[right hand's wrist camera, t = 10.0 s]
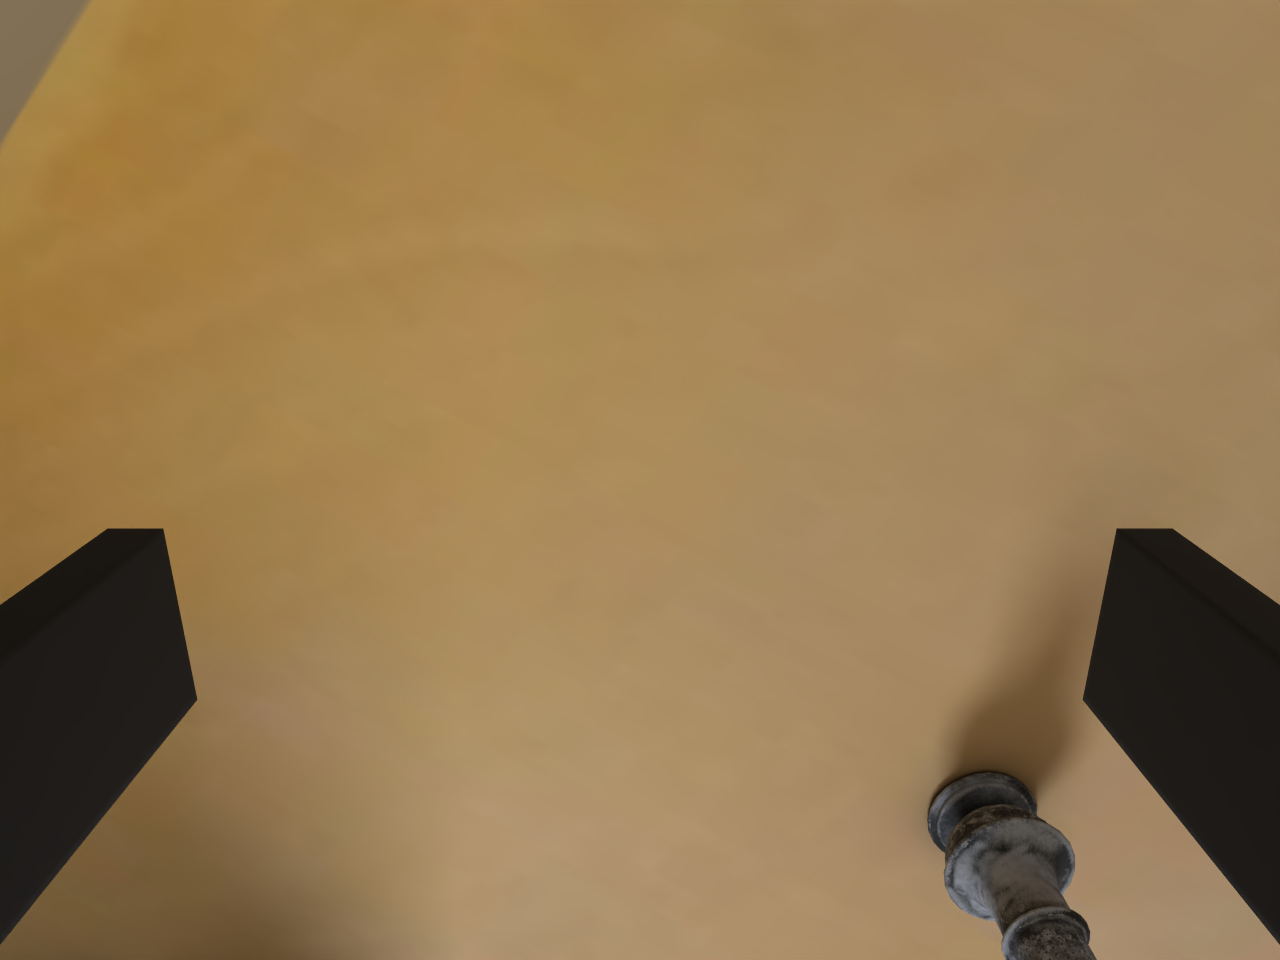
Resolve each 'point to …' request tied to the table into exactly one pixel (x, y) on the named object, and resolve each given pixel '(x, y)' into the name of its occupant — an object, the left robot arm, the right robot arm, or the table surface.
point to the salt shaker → (1009, 867)
